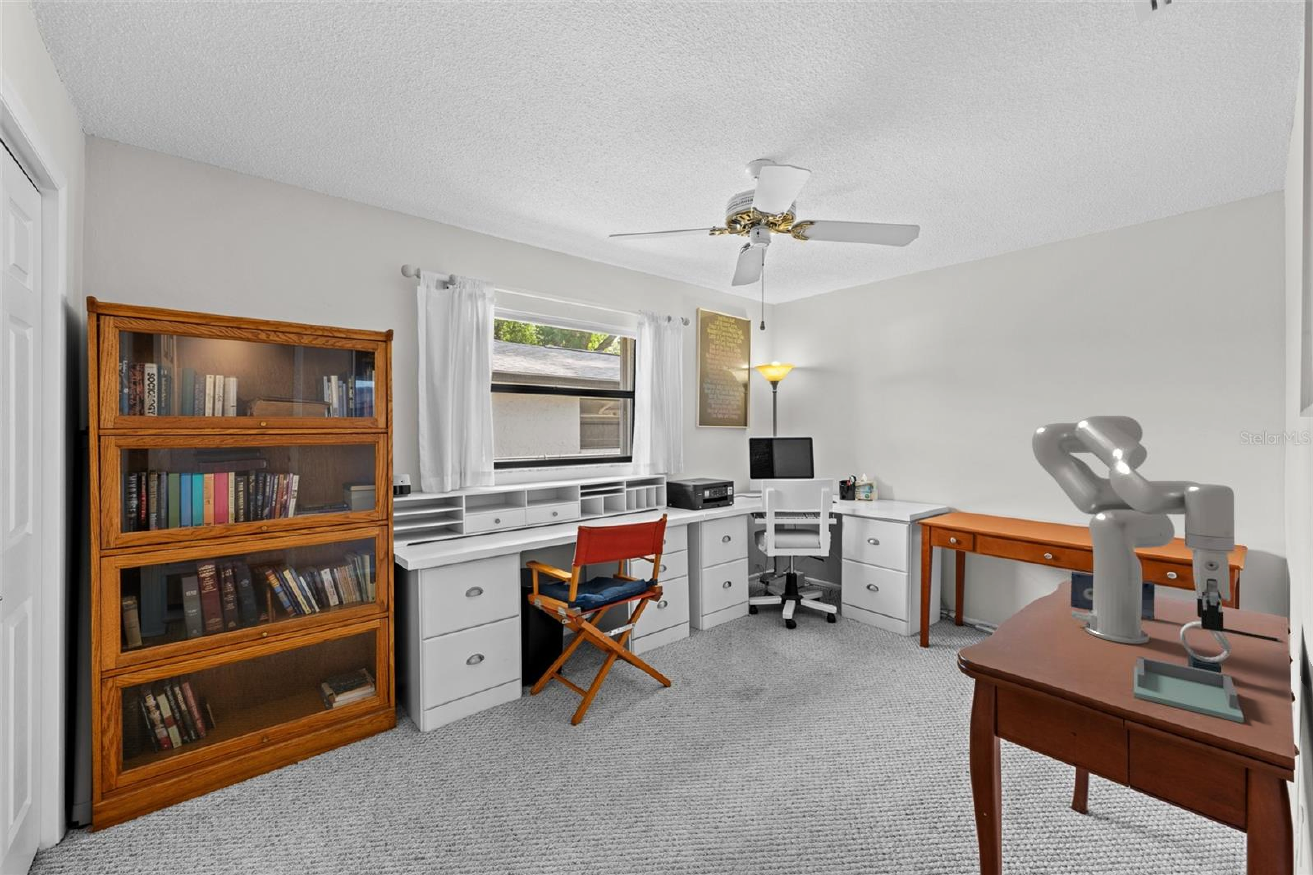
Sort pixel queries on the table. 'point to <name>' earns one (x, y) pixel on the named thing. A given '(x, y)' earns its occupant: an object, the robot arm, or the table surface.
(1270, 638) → the black pen
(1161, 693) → the shallow grey tray
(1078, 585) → the vhs cassette tape
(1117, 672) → the table surface
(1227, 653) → the watch
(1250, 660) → the table surface
